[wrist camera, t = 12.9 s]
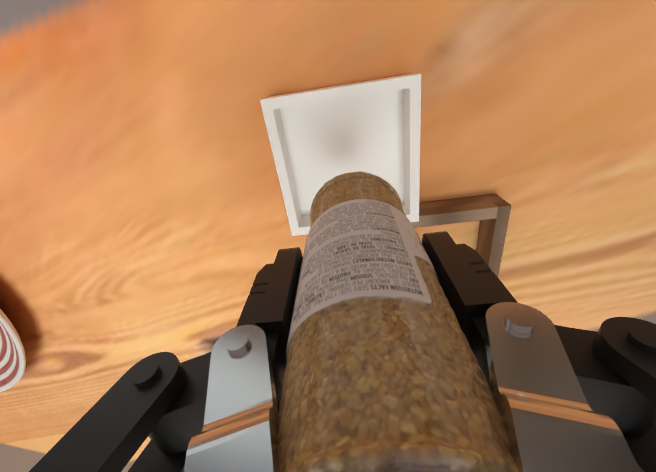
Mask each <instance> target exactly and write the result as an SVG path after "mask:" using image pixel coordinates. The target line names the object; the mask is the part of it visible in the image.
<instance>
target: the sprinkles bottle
mask: <svg viewBox="0 0 656 472" xmlns="http://www.w3.org/2000/svg"><path fill="white" fill-rule="evenodd" d="M310 220H311V227H310V230H309V233H308V236H307V240H306V244H305V250H304V255H303V260H302V266H301V271H300V276H299V282H298V287H297V292H296V297H295V303H294V309H293V314H292V320H291V325H290V331H289V337H288V342H287V349H286V361H287V364H286V369H285V374H284V381H283V387H282V393H281V401H280V406H279V413H278V444H279V446H278V456H279V472H519V471H518V468H517V466H516V464H515V462H514V459H513V457H512V455H511V452H510V446H509V440H508V436H507V434H506V431H505V428H504V424H503V420H502V418H501V416H500V414H499V411H498V409H497V406H496V403H495V400H494V395H493V393H492V391H491V389H490V387H489V385H488V383H487V379H486V376H485V375H484V373H483V371H482V370H481V368H480V366H479V364H478V361H477V359H476V357H475V355H474V354H473V352H472V350H471V348H470V345H469V343H468V340H467V338H466V336H465V334H464V333H463V332H462V330H461V327H460V325H459V323H458V320H457V318H456V315H455V313H454V311H453V310H452V308H451V307H450V304H449V301H448V299H447V298H446V296H445V293H444V291H443V289H442V287H441V286H440V284H439V280H438V276H437V273H436V271H435V269H434V266H433V264H432V262H431V260H430V259H429V257H428V255H427V252H426V250H425V248H424V246H423V244H422V242H421V240H420V238H419V237H418V235H417V233H416V231H415V229H414V227H413V225H412V223H411V222H410V221H409V219H408V218H407V217H406V215H405V213H404V211H403V208H402V204H401V200H400V197H399V195H398V193H397V192H396V190H395V189H394V188H393V187H392V186H391V185H390V184H389V183H388V182H387V181H385V180H383V179H382V178H380V177H379V176H376V175H373V174H371V173H366V172H362V171H358V172H350V173H345V174H341V175H338V176H336V177H334V178H332V179H331V180H329V181H328V182H326V183H325V184H324V185H323V186H322V187H321V188H320V190H319V191H318V192H317V194H316V195H315V197H314V199H313V202H312V205H311V210H310Z"/></svg>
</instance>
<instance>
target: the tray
mask: <svg viewBox="0 0 656 472" xmlns="http://www.w3.org/2000/svg"><path fill="white" fill-rule="evenodd" d="M260 102H261V106H262V110H263V115H264V119H265V123H266V127H267V132H268V136H269V140H270V144H271V148H272V153H273V157H274V161H275V165H276V169H277V174H278V178H279V182H280V186H281V191H282V195H283V199H284V203H285V207H286V212H287V216H288V220H289V224H290V229H291V233H292V236H297V235H305V234H308V233H309V230H310V227H311V220H310V210H311V205H312V202H313V199H314V197H315V195H316V194H317V192H318V191H319V190H320V188H321V187H322V186H323V185H324V184H325V183H326V182H328V181H329V180H331V179H332V178H334V177H336V176H338V175H341V174H345V173H350V172H358V171H362V172H366V173H371V174H373V175H376V176H379V177H380V178H382V179H383V180H385V181H387V182H388V183H389V184H390V185H391V186H392V187H393V188H394V189H395V190H396V192H397V193H398V195H399V197H400V200H401V204H402V208H403V211H404V213H405V215H406V217H407V218H408V219H409V221H410V222H419V184H420V120H421V74H406V75H400V76H394V77H388V78H381V79H375V80H369V81H363V82H357V83H350V84H344V85H338V86H332V87H326V88H319V89H313V90H307V91H301V92H295V93H289V94H282V95H276V96H270V97H267V98H264V99H261V100H260Z"/></svg>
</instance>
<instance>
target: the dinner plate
mask: <svg viewBox="0 0 656 472" xmlns="http://www.w3.org/2000/svg"><path fill="white" fill-rule="evenodd" d="M25 367H26V357H25V351H24V347H23V344H22V342H21V339H20V337H19V335H18V333H17V331H16V329H15V328H14V326H13V325H12V323H11V322H10V320H9V319H8V317H7V316H6V315H5V314H4V313H3V311H2V310H1V309H0V392H2V391H5V390H7V389H9V388H11V387H13V386H14V385H15V384H17V383H18V382H19V381H20V379H21V378H22V376H23V374H24V371H25Z"/></svg>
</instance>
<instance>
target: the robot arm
mask: <svg viewBox="0 0 656 472" xmlns="http://www.w3.org/2000/svg"><path fill="white" fill-rule="evenodd" d="M422 244H423V246H424V248H425V250H426V252H427V255H428V257H429V259H430V260H431V262H432V264H433V266H434V269H435V271H436V273H437V276H438V280H439V284H440V286H441V287H442V289H443V291H444V293H445V296H446V298H447V299H448V301H449V304H450V307H451V308H452V310H453V311H454V313H455V315H456V318H457V320H458V323H459V325H460V327H461V330H462V332H463V333H464V334H465V336H466V338H467V340H468V343H469V345H470V348H471V350H472V352H473V354H474V355H475V357H476V359H477V361H478V364H479V366H480V368H481V370H482V371H483V373H484V375H485V376H486V379H487V383H488V385H489V387H490V389H491V391H492V393H493V395H494V400H495V403H496V406H497V409H498V411H499V414H500V416H501V418H502V420H503V424H504V428H505V431H506V434H507V436H508V440H509V446H510V452H511V455H512V457H513V459H514V462H515V464H516V466H517V468H518V471H519V472H656V324H653V323H651V322H648V321H644V320H641V319H636V318H629V317H614V318H610V319H607V320H605V321H604V322H603V323H602V325H601V327H600V329H599V331H598V332H595V331H588V330H582V329H575V328H568V327H562V326H557V325H554V324H553V323H552V321H551V320H550V319H549V318H548V317H547V316H546V315H544V314H543V313H542V312H540V311H538V310H537V309H535V308H532V307H530V306H527V305H525V304H521V303H517V301H516V300H515V299H514V297H513V296H512V295H511V294H510V292H509V291H508V290H507V289H506V287H505V286H504V285H503V284H502V282H501V281H500V280H499V278H498V277H497V276H496V275H495V273H494V272H492V270H491V268H490V267H489V266H488V265H487V263H485V261H484V259H483V258H482V257H481V256H480V254H479V253H478V252H477V251H476V250H474V249H472V248H470V247H469V246H467V245H465V244H457V245H456V244H455V243H454V241H453V240H452V238H451V237H450V235H449V234H448V233H447V232H446V231H444V232H435V233H426V234H423V238H422ZM302 260H303V257H302V253H301V250H300V248H299V247H298V248H289V249H280V250H278V253H277V256H276V259H275V262H274V264H266V265H265V266H264V267H263V268H262V269H261V270H260V271H259V272H258V273H257V275H256V278H255V280H254V283H253V286H252V288H251V291H250V295H249V296H248V298H247V301H246V303H245V306H244V308H243V311H242V314H241V316H240V319H239V321H238V324H237V326H236V327H235V328H233V329H231V330H229V331H227V332H226V333H225V334H223V335H222V336H221V337H220V338H219V339H218V340H217V342H216V343H215V345H214V346H213V349H212V352H210V353H207V354H205V355H202V356H199V357H196V358H193V359H191V360H188V361H185V362H182V363H180V362H179V360H178V358H177V357H176V355H174V354H173V353H170V352H160V353H156V354H153V355H150V356H148V357H146V358H144V359H142V360H141V361H139V362H138V363H136V364H135V365H134V366H133V367H131V368H130V369H129V370H128V371H127V372H126V373H125V374H124V375H123V376H122V377H121V378H120V379H119V380H118V381H117V382H116V383H115V384H114V385H113V386H112V387H111V388H110V390H109V391H108V392H107V393H106V394H105V395H104V396H103V397H102V398H101V399H100V400H99V401H98V402H97V403H96V404H95V405H94V406H93V407H92V408H91V409H90V410H89V411H88V412H87V413H86V414H85V415H84V416H83V417H82V418H81V419H80V420H79V421H78V422H77V423H76V424H75V425H74V426H73V427H72V428H71V429H70V430H69V431H68V432H67V433H66V434H65V435H64V436H63V437H62V438H61V439H60V441H59V442H58V443H57V444H56V445H55V446H54V447H53V448H52V449H51V450H50V451H49V452H48V453H47V454H46V455H45V456H44V457H43V458H42V459H41V460H40V461H39V462H38V463H37V464H36V465H35V466H34V467H33V468H32V469H31V470H30V471H29V472H121V471H122V470H123V468H124V467H125V466H126V464H127V463H128V462H129V460H130V459H131V458H132V456H133V455H134V454H135V453H136V451H137V450H138V449H139V447H140V446H141V445H142V443H143V442H144V441H145V439H146V438H147V437H148V436H149V437H150V438H151V441H150V442H149V444H148V445H147V446H146V448H145V449H144V450H143V452H142V453H141V454H140V456H139V457H138V458H137V460H136V461H135V462H134V464H133V465H132V467H131V468H130V469H129V471H128V472H279V456H278V446H279V444H278V413H279V406H280V401H281V393H282V387H283V381H284V374H285V369H286V364H287V361H286V349H287V342H288V337H289V331H290V325H291V320H292V314H293V309H294V303H295V297H296V292H297V287H298V282H299V276H300V271H301V266H302Z"/></svg>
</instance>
